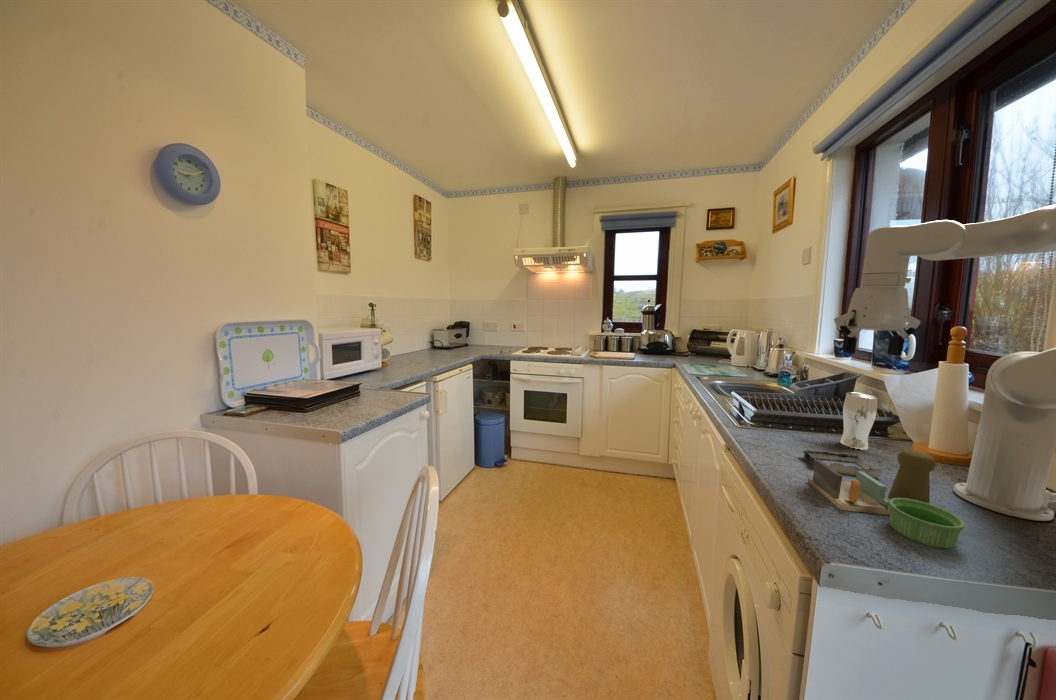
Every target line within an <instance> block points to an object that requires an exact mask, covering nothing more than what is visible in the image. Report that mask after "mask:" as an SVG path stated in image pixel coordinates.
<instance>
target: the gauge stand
mask: <svg viewBox="0 0 1056 700" xmlns="http://www.w3.org/2000/svg"><path fill="white" fill-rule="evenodd" d="M829 466H830V465H828V464H826V463H825V462H823V461H822V459H815V467H813V468H814V469H813V476H812V478H811V477H808V478H807V482H808V484H809V485H811V486H812V487H813V488H814V489H815V490H816V491H817V492H819V493H820V494H822V496H823V497H825V498H826V499H827V500H828V501H830V502H831V503H832V504H833V505H834V506H835V507H837V509H839V510H840V511H848V512H849V511H850V512H858V513H867V514H878V515H887V516H890V506H885V505H884V504H882V503H881V502H879V501H877V500H876V499H874V498H873V497H871V496H870V495H869V494H867V493H866V492H864V491H863V490H861V489H860V488H859V492H858V498H857V503H853V502H852V501H850V500H849V499H848V498H849V491H850V485H851V481H845V480H844V481H843V475H842V473H838V472H836V471H835V470H834V469H832V468H831V467H829ZM885 498H886V499H888V500H889V501H890V499H889V498H888V496H886V495H885Z"/></svg>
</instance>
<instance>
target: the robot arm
mask: <svg viewBox="0 0 1056 700" xmlns="http://www.w3.org/2000/svg"><path fill="white" fill-rule="evenodd" d="M1046 252H1056V204H1053V205H1047V206H1043V207H1040V208H1037V209H1034V210H1030V211H1026V212H1025V213H1020V214H1017V215H1014V216H1010V217H1005V218H1000V219H994V220H988V221H981V222H976V223H975V222H974V223H966V224H962V223H960V222H958V221H956V220H949V219H942V220H934V221H927V222H923V223H918V224H912V225H893V226H883V227H878V228H876V229H873V230H871V231H870V233H869V234H868V236H867V240H866V247H865V254H864V262H863V268H862V275H861V281H860V286H859V287H856V288H855V290H854V291H853V294H852V297H851V299H850V302H849V305H848V309H847V313H845V314H842V315H839V316H836V317H835V318H833V321H834V324H835V326H836V329H837V331H838V332H839V333H840V334H841V336H842V337H843V341H842V348H841V349H842V353H845V354H849V355H854V354H855V352H856V347H857V340H858V338H857V337H855V336H857V335H858V334H859V333H860V332H861V331H862V330H864V331H885V332H886V331H888V332H889V333H890V335H891V336H892V337H890V338H889V340H888V347H887V354H888V355H890V356H896V357H901V356H902V353H903V351H904V350H903V349H904V345H905V341H906V340H908V339H909V336H911V335H913V333H915V332H916V329H917V328H918V327H919V325H921V320H920V319H918V318H916V317H914V316H912V315H910V314H909V313H908V311H909V294H908V293H909V292H908V288H907V287H906V284H910V283H911V281H912V278H911V277H907V276H908V270H909V265H910V258H911V257H920V259H923V260H927V261H948V260H949V261H950V260H959V259H963V260H964V259H973V258H974V259H975V258H984V257H995V256H997V257H998V256H1007V255H1008V256H1009V255H1021V254H1022V255H1026V254H1029V255H1030V254H1037V253H1046ZM987 371H988V372H987V373H986V374H987V375H986V379H985V386H984V387H985V388H984V395H983V400H982V401H983V403H982V408H981V412H980V417H979V424H978V427H977V432H976V437H975V440H974V441H975V442H974V446H973V450H972V455H971V460H970V463H969V464H970V466H969V469H968V474H967V478H966V479H967V480H966V482H958V483H955V484H954V485H953V491H954V493H955V495H957V496H959V497H960V498H962V499H964V500H966V501H967V502H970V503H972V504H974V505H977V506H979V507H982V508H984V509H987V510H990V511H993V512H997V513H999V514H1000V513H1001V514H1002V515H1007V516H1009V517H1015V518H1019V519H1024V520H1031V521H1038V522H1040V521H1041V522H1045V521H1047V522H1048V521H1052V520H1053V519H1054V517H1055V511H1054V510H1053V509H1052V508H1051V507H1048V505H1049V504H1052V503H1056V492H1051V491H1049V490H1046V488H1047V485H1048V481H1049V476H1050V472H1051V469H1052V464H1053V461H1054V456H1055V452H1056V347H1053V348H1050V349H1047V350H1044V351H1041V352H1038V351H1027V350H1026V351H1015V352H1011V353H1009V354H1006V355H1004V356H1002V357H1000V358H998V359H997V360H995V361H994V362H993V363H992V364H991V366H990V367H989V369H988V370H987Z"/></svg>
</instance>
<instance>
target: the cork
mask: <svg viewBox="0 0 1056 700" xmlns="http://www.w3.org/2000/svg"><path fill="white" fill-rule="evenodd" d="M897 462H898V464H899V467H898V470H897V473H896V475H895V478H894V480H893V483H892V486H891V487H890V491H889V493H888V494H887V498H889V499H890V500H891V499H893V498H907V499H913V500H918V501H922V502H925V503H929V504H931V503H930V502H931V501H930V496H931V495H930V487H931V486H930V472H932V471H934V470H935V467H936V460H935V459H934V457H933V456H932V455H930V454H927V453H925V452H922V451H918V450H912V449H903V450H901V451H899V453H898V454H897Z"/></svg>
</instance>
